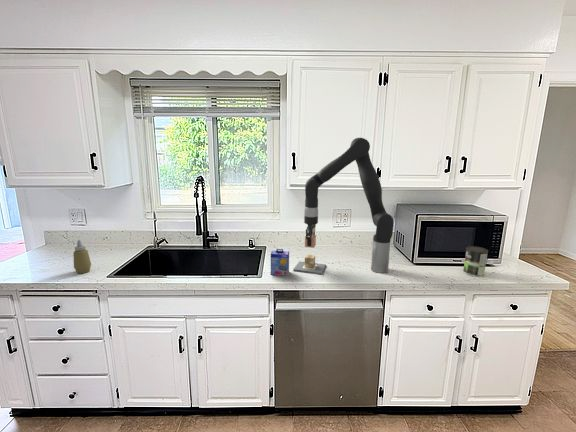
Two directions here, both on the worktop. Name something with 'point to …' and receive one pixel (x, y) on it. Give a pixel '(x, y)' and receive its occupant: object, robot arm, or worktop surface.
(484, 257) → the coffee can
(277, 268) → the ink cartridge box
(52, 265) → the worktop surface
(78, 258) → the squeeze bottle
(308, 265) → the maple block
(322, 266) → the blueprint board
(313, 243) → the terracotta block
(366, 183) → the robot arm
